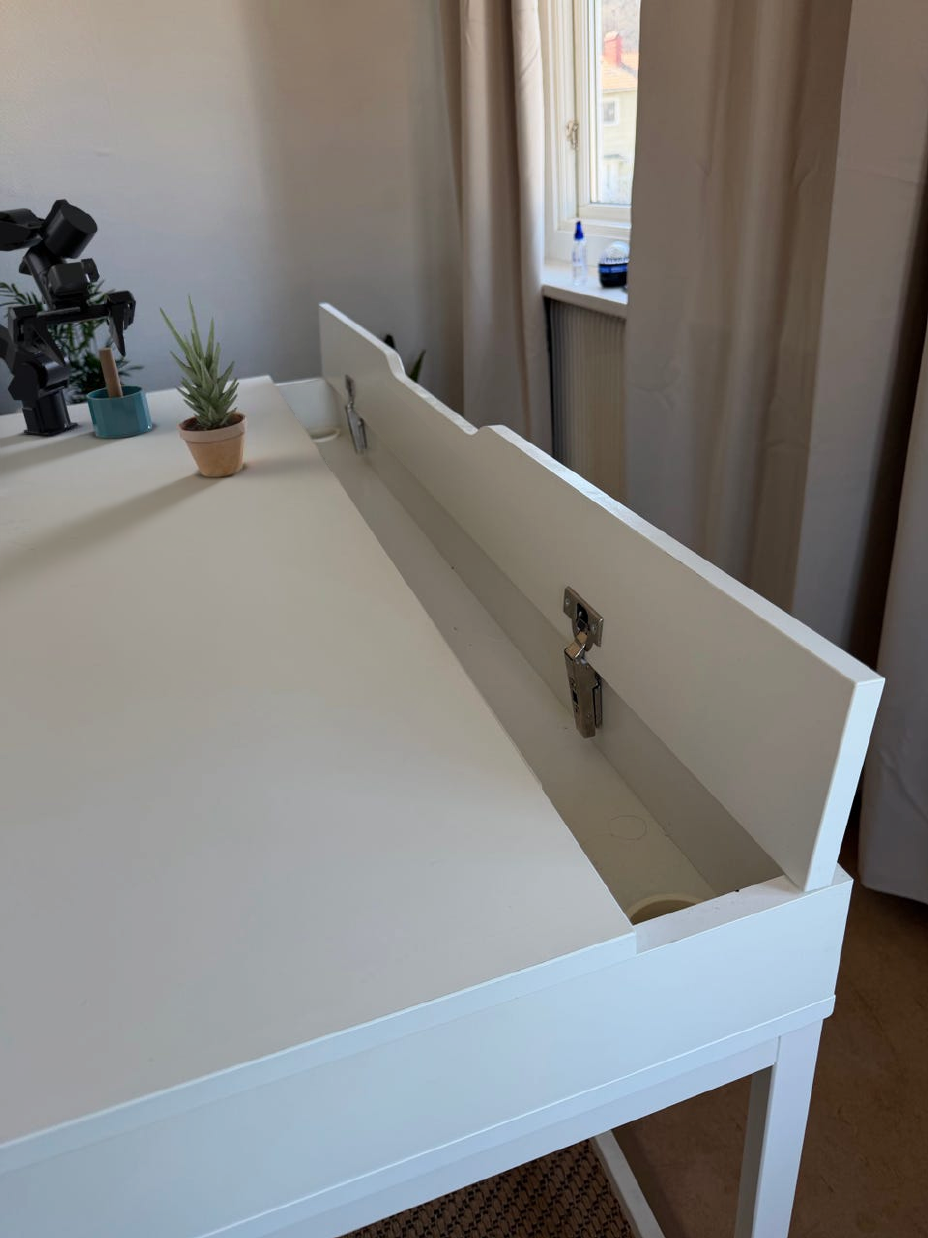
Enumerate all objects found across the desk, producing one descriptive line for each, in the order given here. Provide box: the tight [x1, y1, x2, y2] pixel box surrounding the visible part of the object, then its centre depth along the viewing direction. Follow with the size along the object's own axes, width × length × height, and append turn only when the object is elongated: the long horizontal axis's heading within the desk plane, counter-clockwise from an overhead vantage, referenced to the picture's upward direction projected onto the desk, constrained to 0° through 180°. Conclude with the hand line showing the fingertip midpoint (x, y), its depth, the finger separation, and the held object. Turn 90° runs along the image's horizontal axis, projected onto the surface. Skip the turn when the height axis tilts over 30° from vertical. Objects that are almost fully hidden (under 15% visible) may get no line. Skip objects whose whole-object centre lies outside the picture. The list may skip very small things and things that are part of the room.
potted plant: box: [158, 292, 249, 478], centre depth 130 cm, size 10×10×25 cm
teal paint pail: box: [85, 384, 153, 439], centre depth 157 cm, size 9×9×6 cm
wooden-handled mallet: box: [97, 347, 123, 398], centre depth 156 cm, size 4×4×13 cm
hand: (95, 360), depth 144 cm, fingers open, 9 cm apart
